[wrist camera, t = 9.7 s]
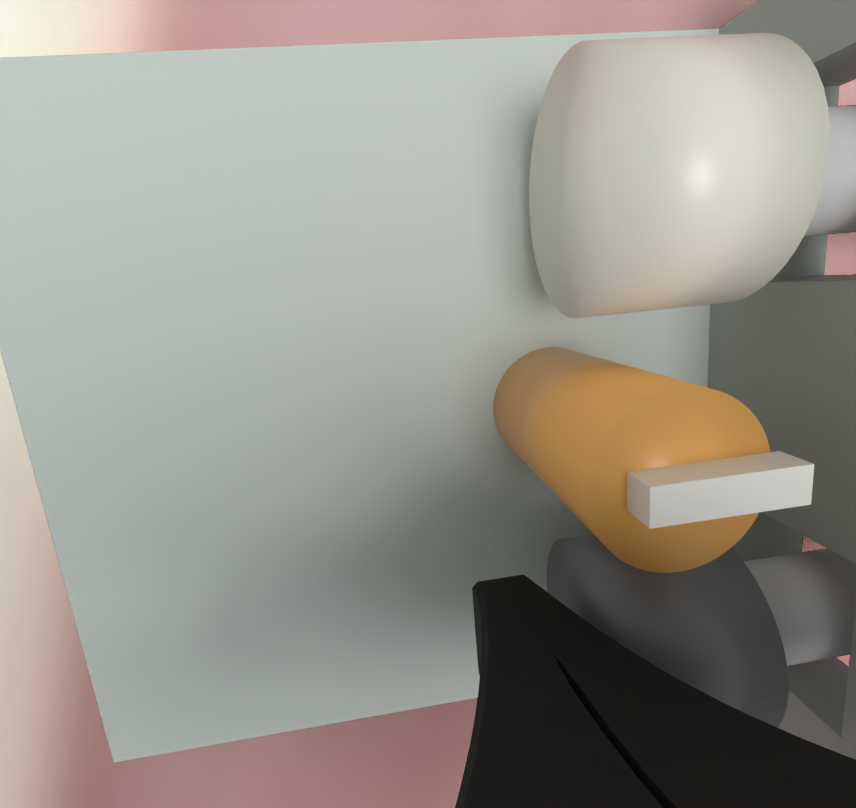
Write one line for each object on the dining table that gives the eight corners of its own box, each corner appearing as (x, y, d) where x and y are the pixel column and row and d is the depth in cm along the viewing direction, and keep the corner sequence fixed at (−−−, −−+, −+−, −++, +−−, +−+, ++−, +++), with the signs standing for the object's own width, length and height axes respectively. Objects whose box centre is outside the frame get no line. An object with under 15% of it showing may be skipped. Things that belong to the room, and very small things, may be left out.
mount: (126, 739, 12) (-69, 1113, 6) (-50, 76, 9) (-700, -264, 3) (738, 632, 13) (991, 860, 8) (768, 40, 10) (1208, -229, 5)
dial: (496, 467, 11) (608, 610, 6) (489, 353, 10) (605, 409, 5) (610, 452, 11) (804, 577, 6) (608, 340, 11) (820, 382, 6)
